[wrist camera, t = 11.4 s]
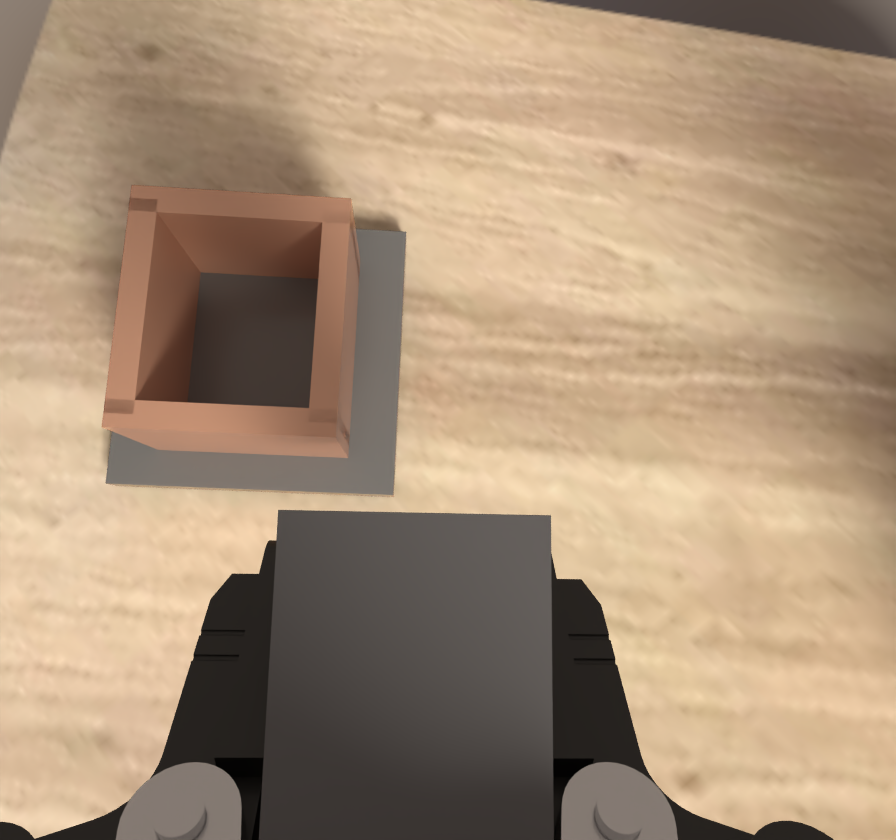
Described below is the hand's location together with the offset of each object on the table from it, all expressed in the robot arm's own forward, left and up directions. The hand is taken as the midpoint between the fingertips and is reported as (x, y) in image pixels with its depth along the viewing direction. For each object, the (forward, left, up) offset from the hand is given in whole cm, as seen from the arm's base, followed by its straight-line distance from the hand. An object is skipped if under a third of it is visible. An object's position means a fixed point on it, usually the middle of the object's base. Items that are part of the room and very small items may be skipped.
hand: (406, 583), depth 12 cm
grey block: (0, +1, -8) cm, 8 cm away
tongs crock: (+7, -9, -20) cm, 23 cm away
